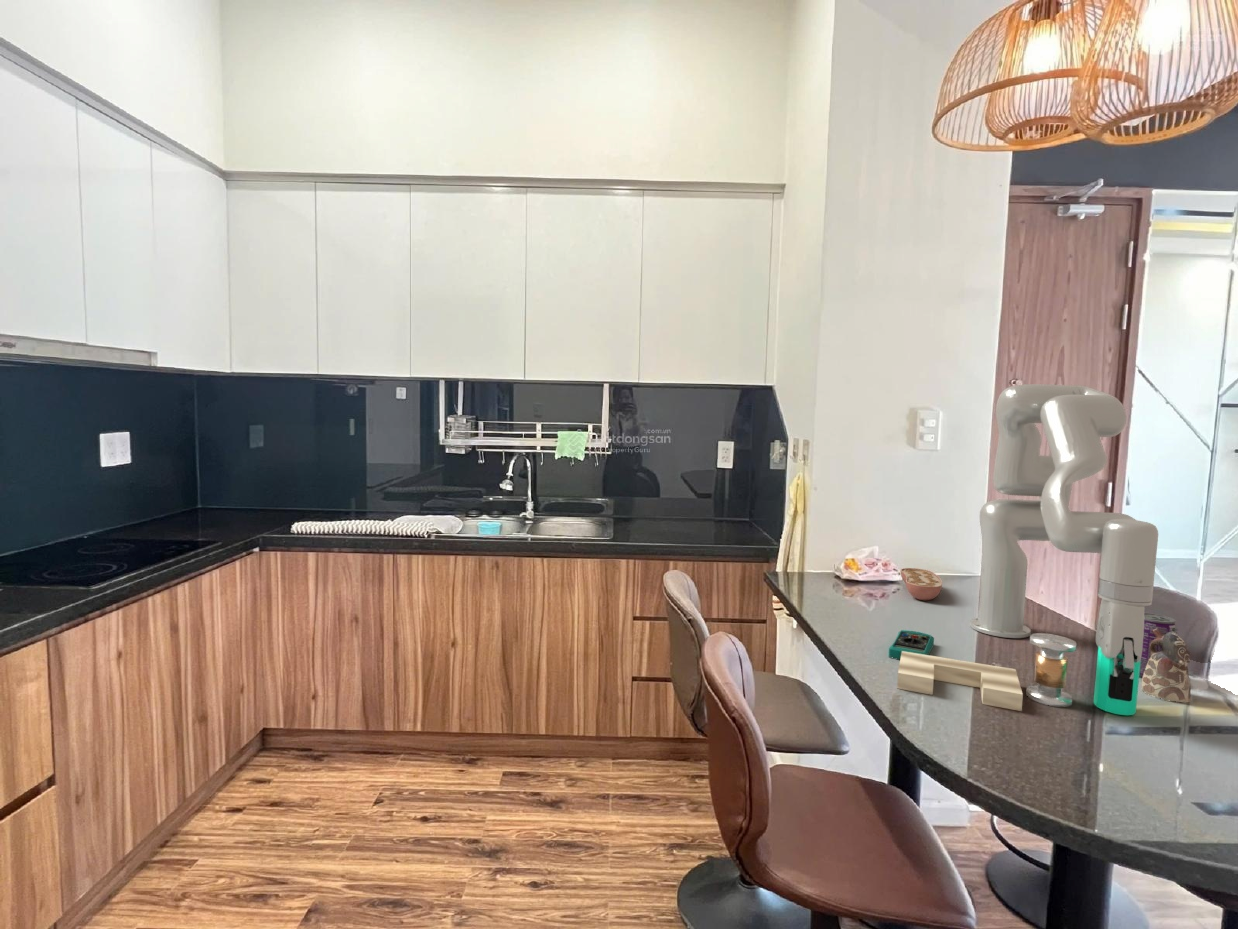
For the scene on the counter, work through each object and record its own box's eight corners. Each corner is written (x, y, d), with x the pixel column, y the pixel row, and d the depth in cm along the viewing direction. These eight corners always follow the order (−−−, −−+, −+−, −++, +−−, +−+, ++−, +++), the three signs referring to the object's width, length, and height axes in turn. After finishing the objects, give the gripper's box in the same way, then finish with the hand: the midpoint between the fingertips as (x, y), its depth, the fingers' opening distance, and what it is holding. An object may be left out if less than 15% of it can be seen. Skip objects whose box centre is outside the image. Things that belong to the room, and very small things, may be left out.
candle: (1138, 718, 113) (1144, 650, 112) (1094, 709, 116) (1100, 642, 115) (1133, 705, 118) (1139, 639, 117) (1092, 697, 121) (1097, 633, 120)
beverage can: (1163, 672, 135) (1168, 614, 134) (1180, 685, 128) (1185, 624, 127) (1122, 667, 137) (1126, 610, 136) (1136, 680, 131) (1141, 620, 130)
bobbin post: (1024, 688, 126) (1028, 631, 125) (1068, 695, 122) (1072, 637, 122) (1028, 702, 119) (1032, 642, 118) (1075, 710, 116) (1079, 649, 115)
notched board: (901, 665, 136) (901, 651, 136) (1014, 684, 127) (1015, 669, 127) (897, 688, 124) (897, 672, 124) (1021, 711, 115) (1022, 694, 115)
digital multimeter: (934, 646, 149) (934, 633, 149) (925, 667, 136) (926, 653, 136) (898, 640, 153) (899, 627, 153) (887, 660, 140) (888, 646, 140)
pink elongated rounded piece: (898, 583, 205) (899, 567, 205) (933, 586, 202) (934, 569, 202) (906, 602, 183) (907, 584, 183) (946, 606, 180) (947, 588, 180)
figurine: (1176, 705, 119) (1182, 640, 118) (1132, 690, 126) (1137, 628, 125) (1199, 699, 122) (1204, 635, 121) (1155, 684, 129) (1160, 623, 128)
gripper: (1089, 577, 124) (1081, 671, 126) (1109, 600, 109) (1100, 707, 111) (1138, 583, 121) (1129, 679, 123) (1166, 607, 106) (1156, 717, 107)
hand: (1115, 691), depth 117 cm, fingers closed on candle, 4 cm apart
